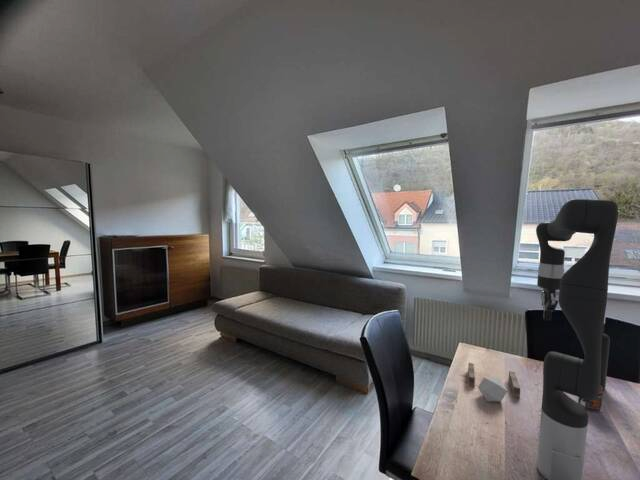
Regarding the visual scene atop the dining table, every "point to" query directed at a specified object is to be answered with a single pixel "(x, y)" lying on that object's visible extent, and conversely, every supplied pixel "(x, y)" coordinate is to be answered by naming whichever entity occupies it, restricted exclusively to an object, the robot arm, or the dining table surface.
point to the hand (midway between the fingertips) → (547, 319)
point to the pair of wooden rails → (512, 380)
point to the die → (492, 389)
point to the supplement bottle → (592, 402)
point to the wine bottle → (604, 356)
